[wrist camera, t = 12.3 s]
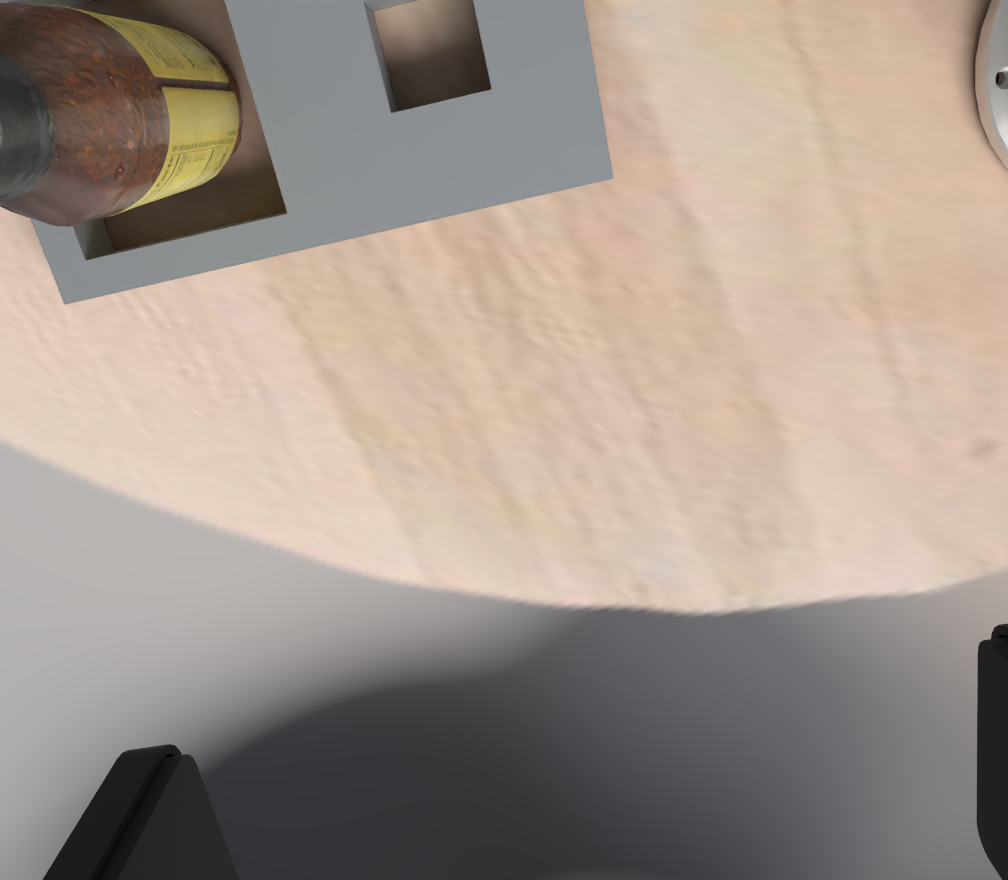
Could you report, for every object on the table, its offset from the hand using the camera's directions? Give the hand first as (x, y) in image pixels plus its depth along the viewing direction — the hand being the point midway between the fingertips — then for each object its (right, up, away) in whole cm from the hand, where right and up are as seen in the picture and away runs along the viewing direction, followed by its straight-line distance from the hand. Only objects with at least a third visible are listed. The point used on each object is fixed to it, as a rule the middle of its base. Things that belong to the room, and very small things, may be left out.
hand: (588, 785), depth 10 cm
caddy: (-9, +19, +26) cm, 33 cm away
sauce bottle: (-15, +18, +26) cm, 35 cm away
